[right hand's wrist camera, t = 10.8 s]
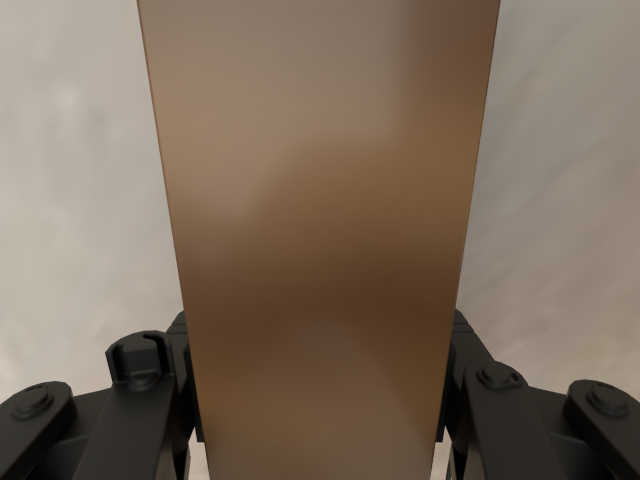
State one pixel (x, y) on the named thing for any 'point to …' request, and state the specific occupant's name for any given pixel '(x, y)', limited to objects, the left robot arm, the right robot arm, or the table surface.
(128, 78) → the table surface
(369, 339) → the post
